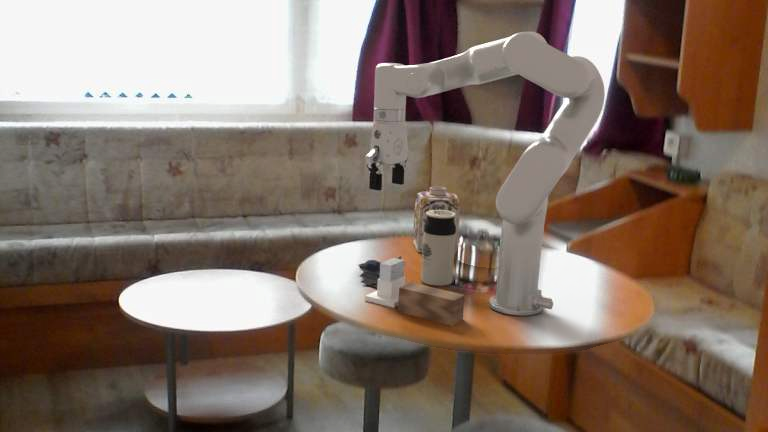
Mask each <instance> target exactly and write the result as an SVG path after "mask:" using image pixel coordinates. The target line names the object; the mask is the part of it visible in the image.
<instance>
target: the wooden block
mask: <svg viewBox="0 0 768 432" xmlns="http://www.w3.org/2000/svg"><path fill="white" fill-rule="evenodd" d="M464 306H465V294H462V293H458V292H454V291H450V290H445V289H441V288H436V287H434V286H433V287H432V286H429V285H423V284H419V283H414V282H408V283H405V285H404V286H401V287H399V301H398V306H397V312H398V313H401V314H404V315H409V316H413V317H417V318H421V319H425V320H428V321H433V322H437V323H441V324H445V325H449V326H454V325H456V324H457V323H459V322H461V321H462V320H464V310H465V309H464V308H465V307H464Z"/></svg>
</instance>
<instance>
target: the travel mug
mask: <svg viewBox="0 0 768 432" xmlns="http://www.w3.org/2000/svg"><path fill="white" fill-rule="evenodd" d="M426 215H427V221H426V223H425V224H424V237H423V253H421V254H422V255H421V256H422V257H421V271H420V273H421V274H420V281H421V282H422V283H424V284H425V285H427V286H431V287H432V286H433V287H444V286H445V287H446V286H448V285H451V284H452V283H453V272H454V262H455V261H454V260H455V254H454V248H455V234H456V226H455V223H454V217H455V216H456V214H455V213H454V212H451V211H446V210H430V211H427V212H426Z"/></svg>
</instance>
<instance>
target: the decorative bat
mask: <svg viewBox="0 0 768 432" xmlns="http://www.w3.org/2000/svg"><path fill="white" fill-rule="evenodd" d="M397 259H402V255H400V256H398V257H397ZM385 261H386V260H385ZM385 261H378V260H376V259H368V260H366V261H365V262H364V263H358V264H357V266H358V268H359V269H360V270H361V271H362V273H361V274H360V275H359V277H361V278H363V279H362V280H361V281H360V283H362V284H364V285H367V286H371V287H374V288H377V283H378V279H379V278H380V263H382V262H385Z"/></svg>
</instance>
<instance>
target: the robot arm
mask: <svg viewBox="0 0 768 432" xmlns="http://www.w3.org/2000/svg"><path fill="white" fill-rule="evenodd" d="M517 75H519V76H521V77H523V78H524V79H526V80H528V81H530V82H532V83H533V84H536V85H537V86H539V87H541V88H542V89H544V90H546V91H548V92H549V93H551V94H553V95H556V96H557V97H561V98H564V100H563V102H562V103H561V106H560V107H559V108H558V110H557V111H556V113H555V115H554V116H553V117H552V120H551V121H550V123H549V124H548V126H547V127H546V129H545V130H544V132H543V133H542V135H541V136H540V137H539V138H538V139H536V140H535V141H534V142H532V143H531V144H530V145H528V146H527V148H526V149H525V150H524V151H523V153H522V155H520V158H519V159H518V160H517V162H516V163H515V165H514V167H513V168H512V169H511V172H510V173H509V174H508V176H507V178H506V179H505V181H504V183H503V184H502V185H501V187H500V189H499V190H498V193H497V195H496V197H495V208H496V210H497V213H498V215H499V216H500V218H501V219H502V223H501V234H500V241H499V242H500V243H499V257H498V268H497V279H496V294H495V295H494V296H491V297H490V298H489V299H488V306H489V307H490V308H491V309H493V310H494V311H496V312H498V313H502V314H505V315H510V316H521V317H522V316H523V317H524V316H534V315H538V314H540V313H541V312H542V311H543V308H544V309H547V310H552V309H553V307H554V301H553V299H552V298H550V297H545V296H543V295H542V290H541V289H539V278H540V269H541V268H540V267H541V258H542V249H543V248H542V246H543V239H544V232H545V231H544V230H545V223H546V216H547V209H548V203H549V196H550V194H551V192H552V191H553V189H554V188H555V186H556V185H557V183H558V182H559V180H560V179H561V177H562V176H563V175H564V174H565V173H566V172H567V171H568V169H569V168H570V166H571V164H572V162H573V160H574V159H575V156H576V155H577V153H578V152H579V151H580V149H581V148H582V146H583V144H584V143H585V141H586V139H587V138H588V136H589V134H590V132H591V131H592V130H593V128H594V126H595V125H596V124H597V122H598V120H599V118H600V115H601V113H602V111H603V107H604V104H605V96H606V95H605V93H606V91H605V85H604V80H603V77H602V76H601V73H600V71H599V69H598V68H597V66H596V65H595V64H594V63H593V62H592V61H591V60H590V59H588V58H586V57H583V56H578V55H577V56H576V55H575V56H571V55H569V54H567V53H565V52H563V51H561V50H560V49H557V48H555V47H554V46H552V45H550V44H548V42H547V41H546V39H545V38H544V37H543V36H542V35H541V34H540V33H537V32H536V31H521V32H520V31H519V32H517V33H514V34H512V35H511V36H508V37H504V38H500V39H496V40H493V41H490V42H486V43H482V44H477V45H475V46H472V47H470V48H468V49H467V50H466V51H464V52H463V53H460V54H457V55H453V56H450V57H446V58H443V59H440V60H436V61H431V62H428V63H427V62H426V63H421V64H420V63H418V64H414V65H413V64H412V65H411V64H410V65H405V64H403V63H399V62H398V63H395V62H382V63H378V64H377V65H376V67H375V71H374V91H373V92H374V96H373V97H374V99H373V124H372V125H373V126H372V131H371V138H370V150H369V152H368V153H367V154H366V155H365V163H366V168H367V169H368V171H367V172H368V173H369V189H370V190H373V191H382V188H383V173H382V171H383V169H384V166H392V167H391V170H392V172H391V183H392V184H395V185H400V186H403V185H404V184H405V168H406V166H407V164H406V163H407V162H408V159H409V158H408V157H409V153H410V148H408V146H409V145H408V127H407V122H406V112H407V110H406V105H407V97H411V98H417V99H418V98H419V99H420V98H426V97H428V96H433V95H436V94H441V93H443V92H448V91H451V90H454V89H458V88H462V87H467V86H470V85H481V84H482V85H483V84H486V83H490V82H494V81H497V80H501V79H506V78H508V77H513V76H517Z"/></svg>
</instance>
